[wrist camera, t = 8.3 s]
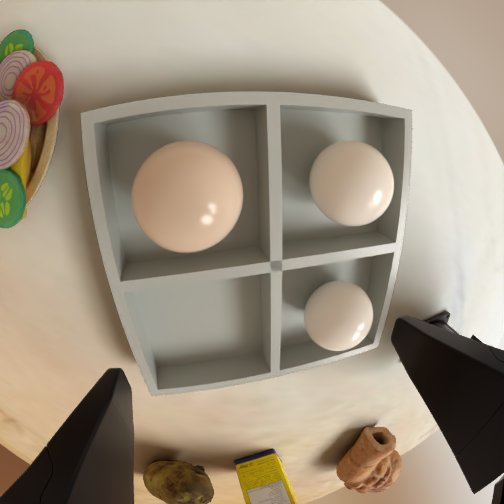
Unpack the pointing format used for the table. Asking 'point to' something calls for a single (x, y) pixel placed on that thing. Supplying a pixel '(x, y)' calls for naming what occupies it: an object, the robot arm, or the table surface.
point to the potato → (178, 482)
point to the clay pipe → (371, 462)
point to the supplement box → (264, 479)
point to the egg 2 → (338, 315)
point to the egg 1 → (351, 183)
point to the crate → (242, 233)
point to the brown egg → (187, 196)
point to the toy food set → (25, 122)
